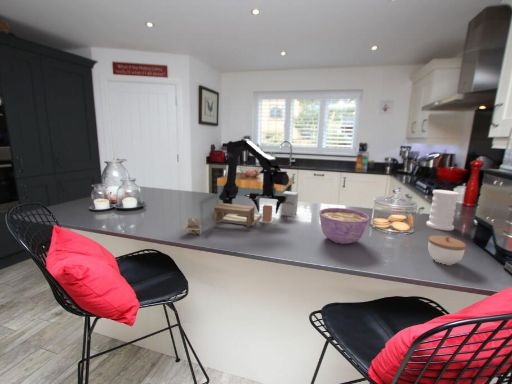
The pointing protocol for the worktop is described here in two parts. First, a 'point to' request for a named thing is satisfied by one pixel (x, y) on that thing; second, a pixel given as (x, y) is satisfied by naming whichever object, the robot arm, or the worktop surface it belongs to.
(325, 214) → the bowl of food
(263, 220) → the tile
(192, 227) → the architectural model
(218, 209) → the brown wooden u-shape
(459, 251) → the lidded jar
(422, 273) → the worktop surface
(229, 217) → the board
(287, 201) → the supplement box
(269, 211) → the block
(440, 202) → the decorative container
